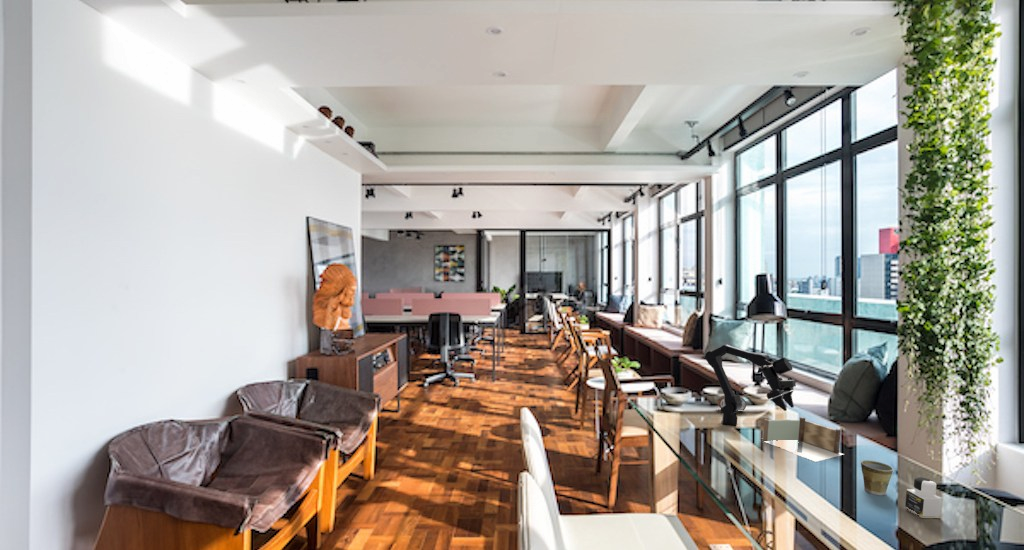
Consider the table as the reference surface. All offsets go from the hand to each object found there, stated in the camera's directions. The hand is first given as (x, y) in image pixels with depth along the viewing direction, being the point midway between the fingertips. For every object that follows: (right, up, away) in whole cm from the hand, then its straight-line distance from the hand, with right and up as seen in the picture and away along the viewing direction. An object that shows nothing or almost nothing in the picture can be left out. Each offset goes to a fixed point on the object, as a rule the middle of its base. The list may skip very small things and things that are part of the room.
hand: (789, 408), depth 251 cm
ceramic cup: (+5, -18, -51) cm, 54 cm away
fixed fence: (+10, -16, -7) cm, 20 cm away
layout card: (0, -16, -9) cm, 18 cm away
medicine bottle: (+10, -19, -69) cm, 72 cm away
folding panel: (-5, -15, -2) cm, 16 cm away
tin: (-8, -13, +47) cm, 49 cm away
